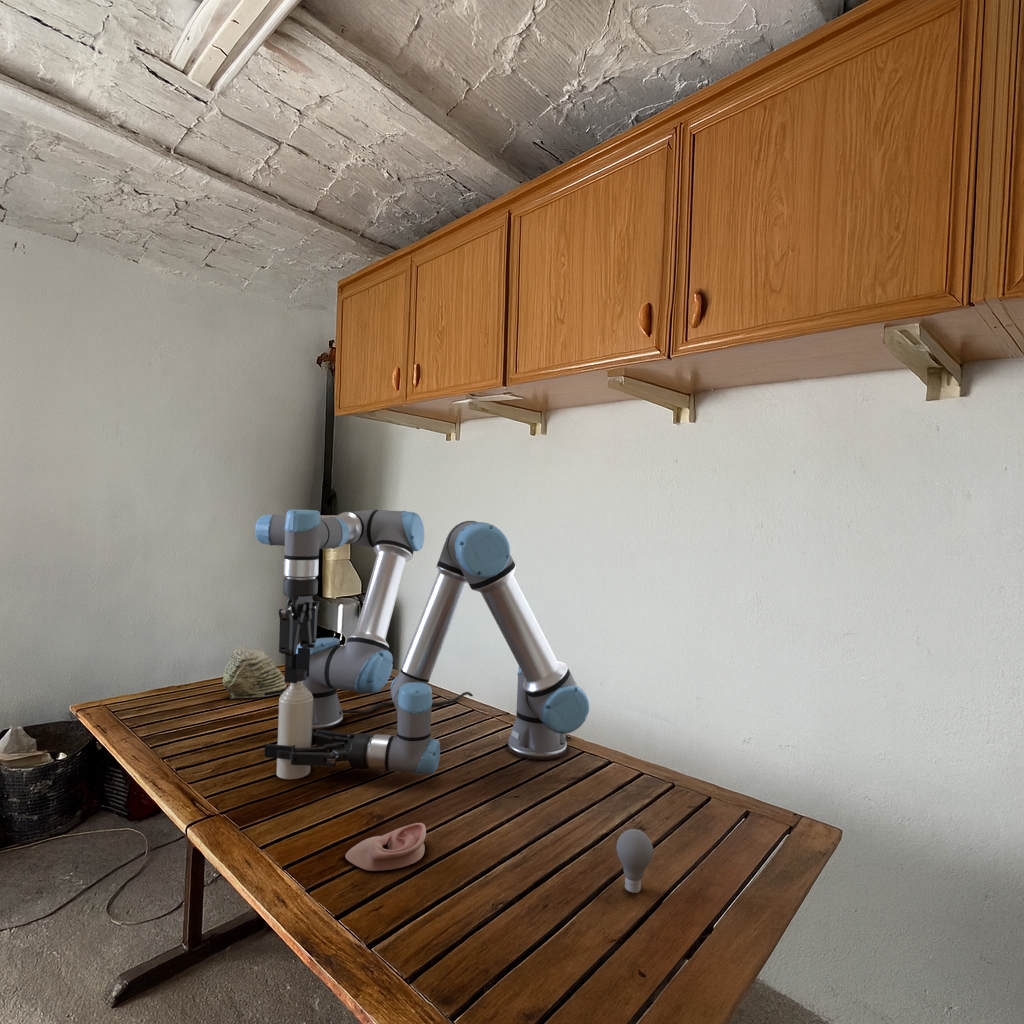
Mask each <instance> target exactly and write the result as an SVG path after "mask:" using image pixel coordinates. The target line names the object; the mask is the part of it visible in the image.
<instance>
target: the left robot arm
mask: <svg viewBox="0 0 1024 1024" xmlns="http://www.w3.org/2000/svg"><path fill="white" fill-rule="evenodd" d="M254 527H255V531H254V535H255V538H256V539H257V541H258V543H260V544H262V545H268V546H282V547H284V555H283V556H284V557H283V558H284V560H283V576H284V577H285V578H283V581H282V594H283V595H284V596H286V597H287V601H286V604H285V605H286V606H285V607H284V608H279V609H278V617H279V634H278V635H279V638H278V652H279V654H284V677H285V680H284V682H286V684H287V683H288V684H290V683H297V674H298V669H306V670H307V679H306V680H304V683H303V685H305V687H306V688H307V689H308V690H309V691H310V692H311V693H312V696H313V721H312V732H316V730H318V729H320V730H327V731H330V730H332V729H335V728H337V727H339V726H340V725H342V723H343V722H344V714H360V715H362V714H363V715H364V714H369V713H372V712H373V711H374V710H376V709H378V708H380V707H385V706H395V705H394V702H393V701H390V702H389V701H388V702H387V701H386V702H381V703H378V704H377V703H376V704H375V705H373V706H372V707H371V708H369V709H367V710H366V709H365V710H360V709H359V710H358V709H342V706H341V702H340V699H339V695H338V690H341V691H349V692H356V693H359V694H376V693H378V692H380V691H381V690H382V689H383V688H384V687H385V685H386V684H387V683H388V681H389V679H390V677H391V675H392V671H393V668H394V667H393V666H394V664H393V661H394V657H393V654H392V652H390V651H389V649H390V645H389V643H388V642H387V636H388V631H389V628H390V623H391V619H392V616H393V612H394V608H395V604H396V602H397V597H398V593H399V589H400V585H401V582H402V578H403V573H404V570H405V566H406V563H407V562H409V561H411V560H412V559H413V556H414V552H419V551H421V550H422V549H423V546H424V543H425V527H424V522H423V520H422V517H421V516H420V515H419V514H418V513H417V512H414V511H408V510H386V509H384V510H383V509H364V510H355V511H343V512H341V513H339V514H337V515H333V514H332V515H331V514H330V515H329V514H328V515H326V514H325V515H324V514H323V515H321V512H320V511H319V510H315V509H313V510H312V509H289V510H288V511H287V512H286V514H263V515H261V516H260V517H259V518H258V519H257V521H256V522H255V526H254ZM344 545H353V546H360V547H365V548H373V551H374V553H375V554H376V558H375V561H374V564H373V568H372V572H371V575H370V579H369V582H368V585H367V589H366V592H365V596H364V600H363V605H362V607H361V611H360V613H359V618H358V620H357V625H356V628H355V632H354V633H353V634H351V635H350V636H348V637H347V639H346V643H345V645H340V644H341V643H340V642H341V641H340V639H339V638H337V637H320V638H319V637H318V638H317V631H318V630H317V629H318V611H319V606H320V601H319V600H317V601H315V600H313V596H316V595H317V594H318V592H319V591H318V590H319V589H318V587H319V579H318V578H317V577H318V576H319V564H320V563H319V560H320V559H319V558H320V550H328V549H332V550H334V549H337V548H340V547H343V546H344ZM298 642H299V643H298ZM465 696H469V697H474V694H473V693H471V691H463V692H462V693H461V694H459V695H458V696H457V697H455V698H451V699H448V700H444V701H439V702H433V703H432V707H438V706H443V705H448V704H450V703H454V702H457V701H459V700H460V699H462V698H463V697H465Z"/></svg>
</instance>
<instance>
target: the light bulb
mask: <svg viewBox="0 0 1024 1024" xmlns="http://www.w3.org/2000/svg"><path fill="white" fill-rule="evenodd" d="M615 849H616V854H617V857H618V859H619V861H620V863H621V865H622V867H623V873H624V874H623V875H624V876H625V878H624V888H625V890H627V891H628V892H630V893H634V894H635V893H639V892H640V891H641V889H642V887H641V886H642V879H643V877H644V875H645V871H646V868H647V867H648V866H649V864H650V863H651V861H652V859H653V855H654V847H653V843H652V841H651V838H649V836H648V835H647V834H646V833H645V832H643V831H642V830H641V829H636V828H629V829H627V830H625V831H623V832H622V833H621V834H620V835H619V837H618V839H617V841H616V847H615Z"/></svg>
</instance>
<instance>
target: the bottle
mask: <svg viewBox="0 0 1024 1024" xmlns="http://www.w3.org/2000/svg"><path fill="white" fill-rule="evenodd" d="M303 683H304V681H299V682H297V683H289V685H288V686H287V687H286V690H285V691H284V692H283V693H280V697H279V698H278V717H277V719H278V720H277V743H276V745H285V746H293V745H295V748H309V747H313V746H312V721H313V696H312V693H311V692H310V691H309V690H308V689H307V688H306V687H305V685H303ZM311 768H312V766H311V765H291V759H279V758H276V769H275V770H276V771H275V774H276V777H278V778H279V779H282V780H296V779H301V778H304V777H306V776H308V775H309V774H310V773H311Z"/></svg>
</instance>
